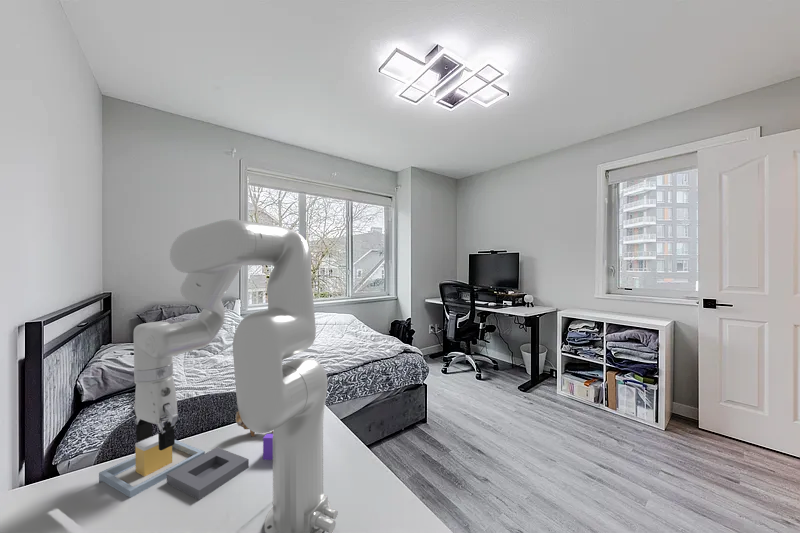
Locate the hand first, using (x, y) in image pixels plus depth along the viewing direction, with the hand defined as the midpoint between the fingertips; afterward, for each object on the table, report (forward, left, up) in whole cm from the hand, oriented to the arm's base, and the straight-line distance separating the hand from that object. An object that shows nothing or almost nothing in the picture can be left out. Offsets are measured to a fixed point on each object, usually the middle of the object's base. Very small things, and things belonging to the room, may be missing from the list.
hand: (155, 442), depth 78 cm
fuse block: (-15, -4, -7) cm, 17 cm away
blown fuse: (+1, 0, -6) cm, 6 cm away
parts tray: (0, 0, -7) cm, 7 cm away
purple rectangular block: (-22, -21, -8) cm, 31 cm away
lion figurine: (-11, -22, -7) cm, 26 cm away
